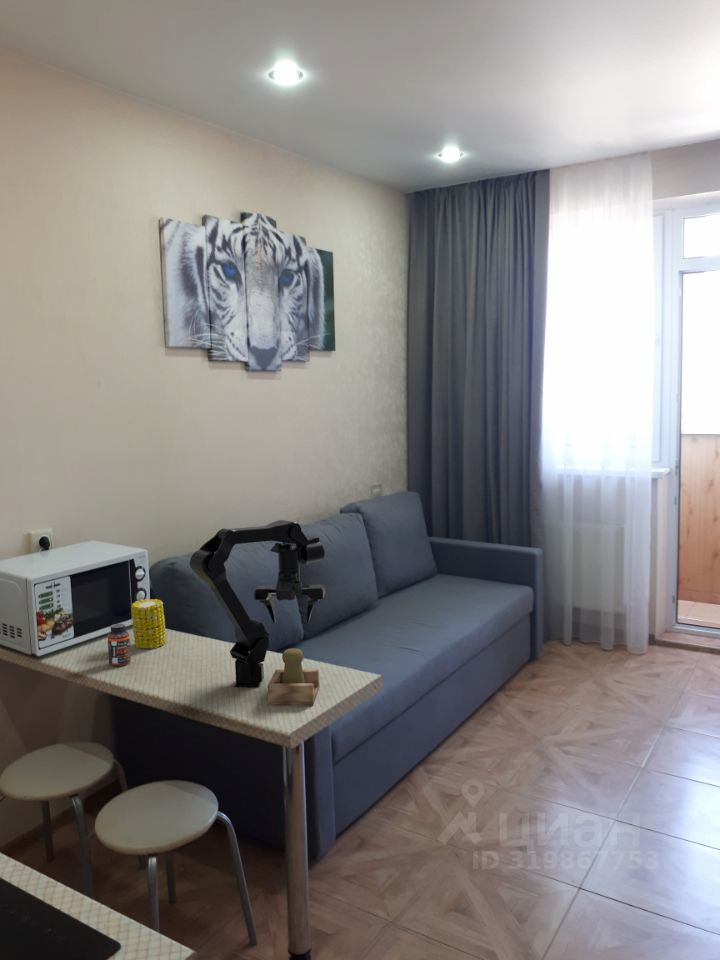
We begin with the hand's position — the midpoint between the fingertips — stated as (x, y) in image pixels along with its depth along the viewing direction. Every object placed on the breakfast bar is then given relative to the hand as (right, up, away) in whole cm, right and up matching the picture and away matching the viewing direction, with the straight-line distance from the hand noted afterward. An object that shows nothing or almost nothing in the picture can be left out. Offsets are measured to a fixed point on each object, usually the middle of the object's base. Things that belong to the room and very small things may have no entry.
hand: (291, 623), depth 203 cm
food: (-46, -12, +26) cm, 54 cm away
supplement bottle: (-50, -14, +10) cm, 53 cm away
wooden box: (+2, -15, -18) cm, 23 cm away
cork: (+2, -14, -18) cm, 23 cm away
